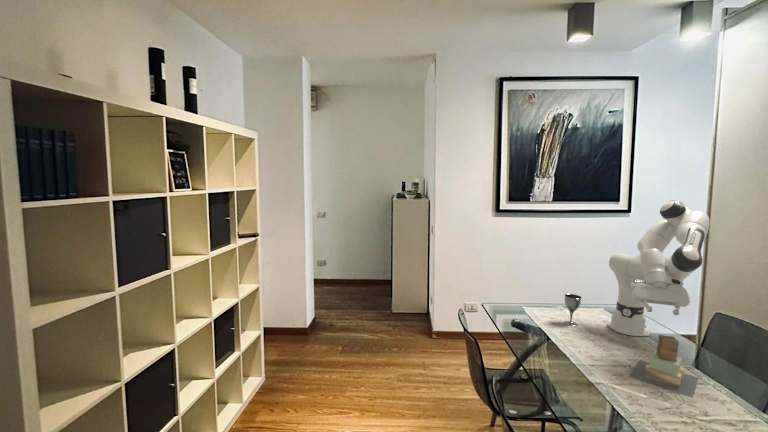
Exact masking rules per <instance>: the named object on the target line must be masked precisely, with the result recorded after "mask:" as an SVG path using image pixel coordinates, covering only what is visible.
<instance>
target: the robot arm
mask: <svg viewBox="0 0 768 432" xmlns="http://www.w3.org/2000/svg"><path fill="white" fill-rule="evenodd" d="M659 215H661V217H662V218H663V220H659V221H656V222H655V223H654V224H653V225H652V226H651V227H650V228H649V229H648V230H647V231H646V232H645V233H644V234H643V236H642V237H641V238H640V239H639V241H637V246H636V247H637V250H638V251H639V254H638V255H637V256H636V255H633V254H632V255H631V254H628V253H613V254H612V255H611V257H610V258H609V260H608V267H609V269H610V270H611V271H612V272H613V274H614V276H615V278H616V280H617V284H618V295H617V301H616V304H615V305H616V306H615V309H614V310H613V311H612V314H611V319H610V322H608V323H607V324H606V326H607V327H609V328H611V329H612V330H614V332H618V333H620V334H623V335H627V336H633V337H634V336H635V337H650V329H649V325H647V324H646V320H647V319H646V317H645V315H644V313H645V309H646V312H648V313H652V312H653V307H652V306H650V305H649V304H655V305H663V306H664V305H666V306H671V307H672V306H673V307H674V308H675V309H673V310H672V314H673V316H679V315H680V309H681V307H683V308H686V307H687V306H688V305H690V303H691V300H690V295H689V293H688V291H687V289H686V288H685V287H684V281H685V280H686V279H687V278H688V277H689V276H691V275H692V273H694V272H695V271H696V270H697V269H699V268H700V267H701V266H702V264H703V255H702V248H703V244H704V243H703V242H705V240H706V237H707V235H708V232H709V229H710V217H709V216H708V214H706V213H705V212H703V211H700V210H699V211H698V210H694V211H693V210H691V208H689V207H687V206H686V205H685V203H683V202H681V201H679V200H677V199H672V200H670V201H667V202H666V203H665V204H663V205H662V206H661V207H660V210H659ZM674 238H675V239H676V241H677V242H678V243H679V244H681V246H680V247H677V248H676V249H675V251H674V252H673V253H672V254H671V256H667V255H665V254H664V253H663V252H664V251H665V250H666V249H667V247H668V245H670V243H671V242H672V240H673V239H674Z"/></svg>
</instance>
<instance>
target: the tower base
mask: <svg viewBox="0 0 768 432" xmlns="http://www.w3.org/2000/svg"><path fill="white" fill-rule="evenodd" d="M649 363H650V360H648V364H647V365H646V367H645V376H644V377H647V378H650V379H653V380H656V381H659V382H662V383H665V384H668V385H671V386H675V387H678V388H679V387H680V384H681V382H682V379H683V374H684V372H685V367H683V366H681V368H680V371H679V373H678V376H676V375H673V374H670V373H666V372H663V371H660V370H657V369H653V368H650V367H649Z"/></svg>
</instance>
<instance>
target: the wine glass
mask: <svg viewBox="0 0 768 432" xmlns="http://www.w3.org/2000/svg"><path fill="white" fill-rule="evenodd" d="M581 302H582V296H580V295H578V294H574V293H565V294H564V305H565V308H566V309H567V310H568V312H569V315H570V316H569V320H564V321H563V324H564V325H567V326H571V327H577V326H578V325H579V323H577V322H575V321H572V320H573V314H574V313H575V312H576V311H577V310H579V308H580V306H581Z"/></svg>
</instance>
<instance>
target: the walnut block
mask: <svg viewBox="0 0 768 432" xmlns="http://www.w3.org/2000/svg"><path fill="white" fill-rule="evenodd" d="M679 343H680V342H679V340H677V338H675V336H671V335H663V334H658V339H657V345H656V351H657V355H658V356H659V358H660V359H661V360H667V361H674V362H676V360H677V357H678V353H679V351H678V349H679Z"/></svg>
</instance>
